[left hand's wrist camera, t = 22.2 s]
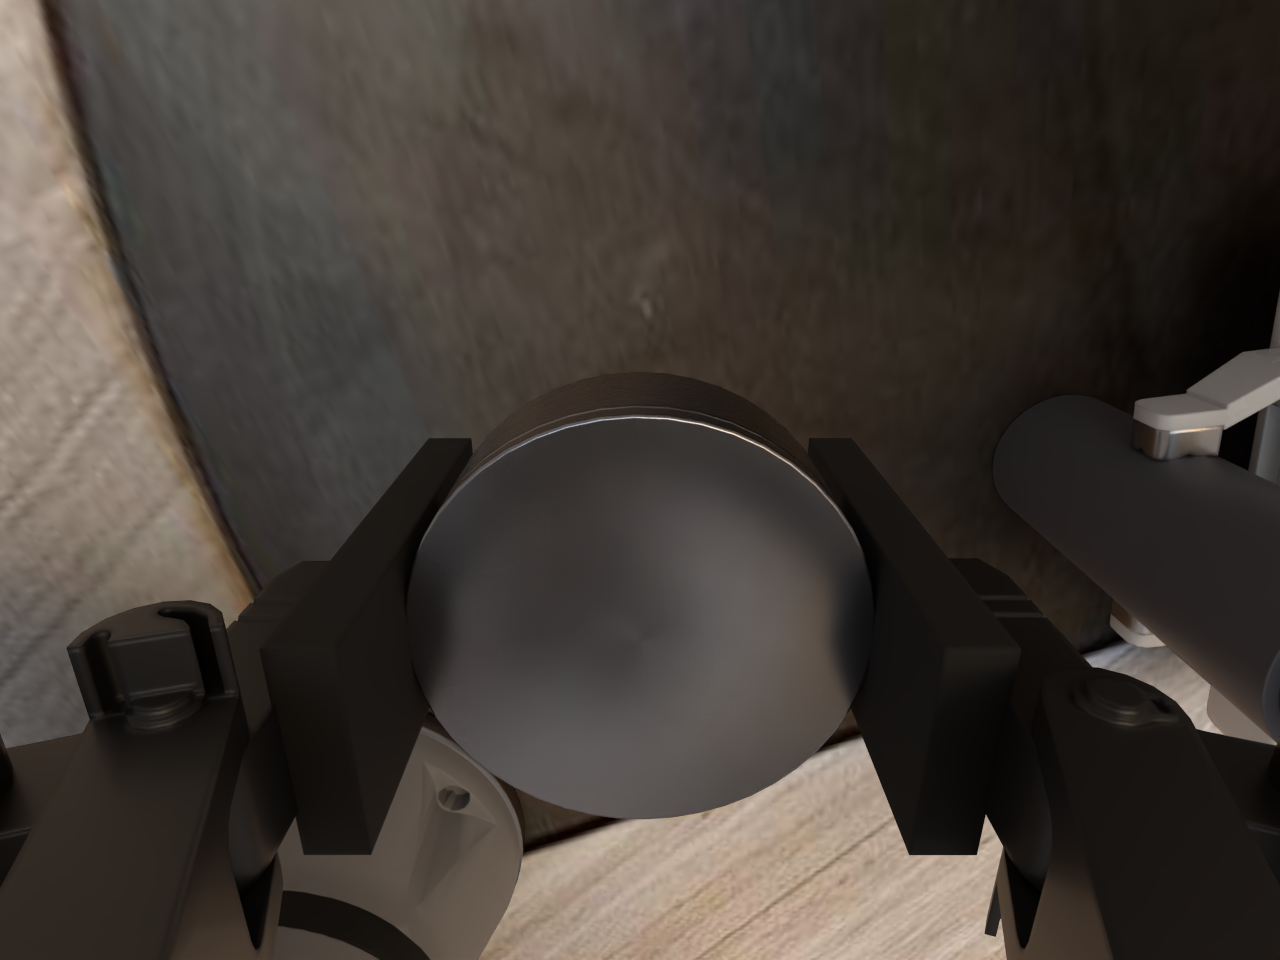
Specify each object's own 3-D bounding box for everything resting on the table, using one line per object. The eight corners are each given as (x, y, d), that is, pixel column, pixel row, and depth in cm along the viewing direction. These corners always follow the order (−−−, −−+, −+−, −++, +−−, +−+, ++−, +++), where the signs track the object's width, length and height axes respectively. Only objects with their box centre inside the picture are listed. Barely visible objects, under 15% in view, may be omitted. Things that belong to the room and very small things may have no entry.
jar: (1120, 375, 29) (1631, 584, 14) (1133, 497, 31) (1598, 794, 16) (981, 419, 30) (1330, 661, 15) (1003, 535, 32) (1332, 856, 17)
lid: (551, 767, 13) (535, 870, 11) (368, 468, 11) (310, 530, 9) (887, 648, 12) (934, 738, 10) (755, 300, 10) (782, 329, 8)
